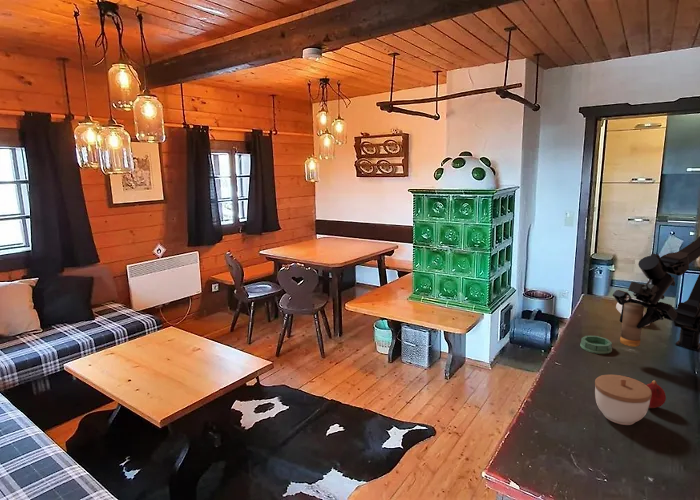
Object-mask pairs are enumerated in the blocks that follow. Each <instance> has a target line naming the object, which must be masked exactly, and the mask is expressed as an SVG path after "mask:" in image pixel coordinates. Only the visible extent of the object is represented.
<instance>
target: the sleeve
mask: <svg viewBox="0 0 700 500" xmlns="http://www.w3.org/2000/svg"><path fill="white" fill-rule="evenodd" d="M644 309H645V307H644V306H643V305H641V304H637V303H625V304H624V309H623V319H622V323H621V331H620V332H621V333H620V338H619V342H620V344H622V345H625V346H629V347H639V346H640V345H641V338H642V328H643V327H642V328H639V329H638V328H637V325H638V323H639V322H640V320H641V319H642V317H643V312H645V311H644Z"/></svg>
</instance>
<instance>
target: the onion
mask: <svg viewBox="0 0 700 500" xmlns="http://www.w3.org/2000/svg"><path fill="white" fill-rule="evenodd" d="M646 385H647V386H648V387H649V388H650V390H651V392H652V396H651V399H650V405H649V408H648V409H655V408H659V407H661V406H663V405H664V404H665V402H666V400H667V398H666V392H665V390H664V389H663V388H662V387H661V386H660V385H658V383H657V381H656V380H655V379H654V380H652V381H651V382H650V383H647V384H646Z"/></svg>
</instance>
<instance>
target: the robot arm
mask: <svg viewBox="0 0 700 500" xmlns="http://www.w3.org/2000/svg"><path fill="white" fill-rule="evenodd" d="M698 258H700V235H699V236H698V237H697V239H695V240H693V241H692V242H691V243H689V244H688V245H686V246H685V247H683V248H681V249H679V250H678V251H676V252H668V253H666V254H663V255H662V256H661V257H660V255H659V254H657V253H651V254H650V255H648V256H645V257H642V258H641V259H639V261H638V264H637V265H638V267H639V268H640V270H641V271H642V273H643V274H644V276H645V278H647V279H648V280H647V282H646V283H644V282H643V283H640V282H635V281H631V282H630V284H629V287H628V288H627V289H628V290H627V291H623V290H620V289H617V290H615V291H614V292H613V294H612V297H613V298H614V300H616V303H619V304H620V305H622V312H621V313H620V317H619V322H620V323H621V324H622V319H623V309H624V304H625V303H637V304H641V305H643V306H644V309H646V311H645V315H644V316H643V317H642V319H641V320H640V322H639V323H638V325H637V328H638V329H639V328H644V327H647V326H646V325H648V324H650V325H651V323H655V322H657V321H660V320H661V321H663V320H664V319H665V320H669V321H672V322H673V325H674V327H677V328H680V331H679V338H678V341H676V342H675V343H674V344H675V346H679V347H683V348H687V349H691V350H695V351H697V350H699V349H700V273H699V274H698V277H697V278H696V281H695V283H694V285H693V287H692V289H691V292H690V294H689V296H688V299H687V300H685V301H684V302H682V301H680V302H678V304H677V307H676V308H674V306H673V304H669V303H667V302H666V303H665V302H662V301H660V300H664V299H665V298H666V297H665V293H666V292H667V290H668V289H669V287H670V286H672V287H675V286H676V281H675V278H674V277H673V276H672V275H675V276H682V275H683V274H685V273H686V272H687V271H688V270H689V269H690V264H691V263H692V262H693V261H695V260H697V259H698ZM628 291H629V292H632V295H633V296H634V297H632V296H631V295H630V294H629V292H628ZM648 326H649V325H648Z"/></svg>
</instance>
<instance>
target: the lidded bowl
mask: <svg viewBox="0 0 700 500" xmlns="http://www.w3.org/2000/svg"><path fill="white" fill-rule="evenodd" d="M594 387H595V388H594V397H595V402H596V405H597V407H598V409H599V410H600V412H601V413H602V414H603V416H604V417H605V419H607V420H608V421H610V422H612V423H614V424H618V425H621V426H631V425H634V424H635V423H636V422H639V421H641V420H642V419H643V418H644V417H645V416H646V415H647V413H648V410H649V409H650V408H649V405H650V399H651V396H652V392H651V390H650V388H649V387H648V386H647V384H645V383H643V382H642V381H640V380H638V379H635V378H632V377H628V376H627V375H626V376H625V375H619V374H602V375H599V376H598V377H596V378H595V380H594Z"/></svg>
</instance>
